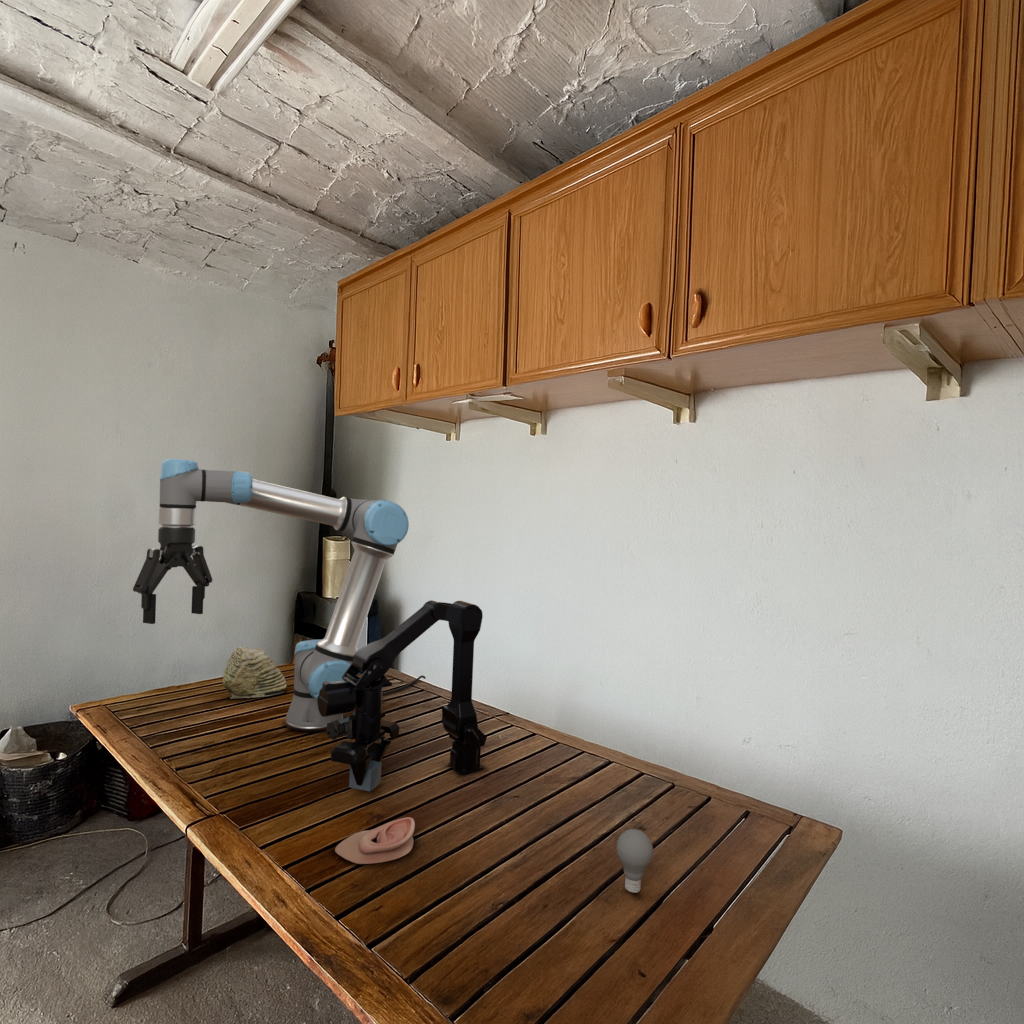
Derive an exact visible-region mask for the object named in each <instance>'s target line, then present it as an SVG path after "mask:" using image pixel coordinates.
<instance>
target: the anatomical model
mask: <svg viewBox="0 0 1024 1024" xmlns="http://www.w3.org/2000/svg"><path fill="white" fill-rule="evenodd" d="M415 828H416V823H415V820H414V818H413V817H410V816H409V817H402V818H398V819H395V820H392V821H389V822H386V823H384V824H382V825H380V826H377V827H375V828H372V829H368V830H361V831H358V832H356V833H353V834H352V835H350V836H348V837H346V838H345V839H343V840H342V841H340V843H338V844H337V845H336V846H335V848H334V852H335V853H336V854H337V855H338V856H340V857H341V858H343V859H344V860H347V861H348V862H351V863H353V864H357V865H369V864H370V865H371V864H380V863H385V862H390V861H394V860H398V859H400V858H402V857H404V856H407V855H408V854H409V853H410V852H411V851H412V849H413V847H414V837H413V835H414V833H415Z"/></svg>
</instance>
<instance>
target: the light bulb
mask: <svg viewBox="0 0 1024 1024" xmlns="http://www.w3.org/2000/svg"><path fill="white" fill-rule="evenodd" d="M615 849H616V854H617V857H618V859H619V861H620V863H621V865H622V867H623V873H624V874H623V875H624V876H625V878H624V888H625V890H627V891H628V892H630V893H634V894H635V893H639V892H640V891H641V889H642V887H641V886H642V879H643V877H644V875H645V871H646V868H647V867H648V866H649V864H650V863H651V861H652V859H653V855H654V847H653V843H652V841H651V838H649V836H648V835H647V834H646V833H645V832H643V831H642V830H641V829H636V828H629V829H627V830H625V831H623V832H622V833H621V834H620V835H619V837H618V839H617V841H616V847H615Z"/></svg>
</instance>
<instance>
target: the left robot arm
mask: <svg viewBox="0 0 1024 1024" xmlns="http://www.w3.org/2000/svg"><path fill="white" fill-rule="evenodd" d="M159 474H160V475H159V509H158V524H159V525H160V527H159V528H158V532H157V533H158V534H157V542H158V543H159V545H160V547H159V548H148V549H147V551H146V557H145V560H144V562H143V565H142V567H141V570H140V571H139V574H138V577H137V578H136V581H135V583H134V585H133V587H132V591H133V592H134V593H135V592H136V593H138V594H140V595H141V599H140V600H141V604H140V607H141V609H142V624H149V625H154V624H156V613H157V610H156V609H157V594H156V593H154V592H155V590H156V589H157V587H158V586H159V585H160V583H161V582H162V580H163V579H164V577H165V576H166V574H167V573H168V572H169V571H170V570H172V568H178V567H182V568H183V569H184V570H185V573H186V574H187V575H188V576H189V578H190V579H191V581H192V582H193V583H194V585H192V587H191V614H194V615H203V614H204V600H205V598H206V587H209V586H210V584H211V583H213V577H212V574H211V571H210V569H209V566H208V564H207V561H206V558H205V555H204V546H202V545H193V544H194V543H196V528H195V527H194V526H195V525H196V522H197V502H208V503H209V502H210V503H226V504H231V505H235V506H240V507H245V508H249V509H254V510H259V511H264V512H269V513H273V514H277V515H281V516H286V517H292V518H295V519H301V520H305V521H310V522H314V523H319V524H323V525H328V526H332V527H333V528H334V530H335V531H338V532H343V533H346V534H349V535H352V539H351V541H350V543H351V545H352V547H353V550H354V551H353V555H352V557H351V560H350V563H349V566H348V569H347V571H346V574H345V577H344V580H343V583H342V586H341V589H340V593H339V595H338V598H337V601H336V603H335V607H334V610H333V613H332V616H331V618H330V621H329V624H328V627H327V629H326V632H325V635H324V637H323V638H322V639H307V640H302V641H299V642H297V643H296V644H295V650H294V672H293V673H294V674H293V695H292V696H293V697H292V699H291V702H290V704H289V708H288V711H287V713H286V715H285V726H286V728H287V729H289V730H291V731H294V732H295V731H296V732H301V733H316V732H326V728H327V723H329V722H330V721H335V720H340V719H343V718H344V713H342V714H337V715H331V716H325V717H322V716H321V715H320V712H319V709H318V703H317V697H318V696H319V691H320V689H321V688H322V683H323V682H328V681H329V682H335V681H342V680H343V679H342V676H343V675H344V673H345V672H346V670H347V669H348V668H349V666H350V665H351V663H352V662H353V656H354V654H355V653H356V652H357V651H358V650H359V649H358V644H359V642H360V639H361V636H362V633H363V629H364V626H365V624H366V621H367V618H368V615H369V612H370V609H371V605H372V604H373V603H372V602H373V599H374V596H375V595H376V591H377V588H378V585H379V582H380V579H381V576H382V573H383V570H384V568H385V567H384V566H385V564H386V561H387V560H388V559H391V558H392V557H394V555H395V552H396V550H397V546H398V545H399V543H401V542H402V541H403V540H404V539H405V538H406V536H407V534H408V531H409V527H410V525H409V517H408V514H407V513H406V510H404V508H403V507H402V506H401V505H400V504H398V503H396V502H393V501H391V500H387V499H359V498H352V497H346V496H342V497H341V498H336V497H331V496H326V495H323V494H318V493H314V492H310V491H305V490H301V489H297V488H292V487H288V486H284V485H279V484H276V483H271V482H267V481H262V480H259V479H255V478H253V476H252V474H251V473H250V472H249V471H239V470H218V469H217V470H213V469H201V468H199V466H198V461H196V460H192V459H178V458H177V459H176V458H167V459H164V460H163V461H162V462H161V465H160V473H159ZM356 676H358V674H357V675H356ZM422 678H423V680H424V679H426V678H427V677H426V676H425V675H423V674H421V675H420V676H418V677H417V678H416V679H414V680H412V681H411V682H409V683H408V684H406V685H403V686H400V687H398V688H394V689H391V690H387V691H384V692H382V696H384V695H388V694H392V693H395V692H398V691H401V690H404V689H407V688H409V687H410V686H412V685H413V684H415V683H416V682H418V681H419V680H421V679H422Z"/></svg>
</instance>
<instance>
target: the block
mask: <svg viewBox="0 0 1024 1024" xmlns="http://www.w3.org/2000/svg"><path fill="white" fill-rule="evenodd" d="M382 763H383V762H382V761H381V762H378V761H373V760H370V763H369V766H368V769H367V772H366V775H365V778H364V781H363V784H362V785H361V786H360V785H357V784H356V781H355V777H354V774H353V771H352V768H351V766H350V765H349V776H348V777H349V778H348V788H351V789H354V790H355V789H356V790H360V791H365V792H368V793H369V792H371V791H373V790H374V789H376V787H378V786H379V785H380V784H381V783H382Z"/></svg>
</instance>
